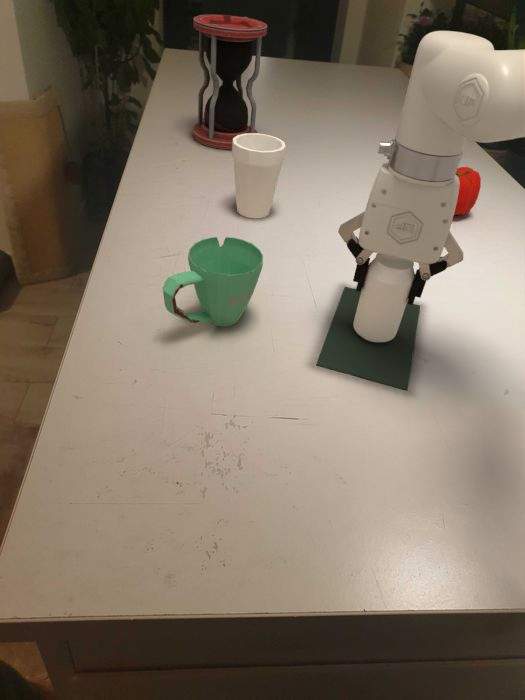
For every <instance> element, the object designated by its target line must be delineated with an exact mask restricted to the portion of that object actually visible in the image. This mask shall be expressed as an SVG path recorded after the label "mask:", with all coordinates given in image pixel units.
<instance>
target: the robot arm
mask: <svg viewBox="0 0 525 700" xmlns="http://www.w3.org/2000/svg"><path fill="white" fill-rule="evenodd" d="M521 138H525V48H524V49H522V48H521V49H505V50H504V49H502V50H500V49H499V50H496V49H495V47H494V45H493V43H492V42H491V41H490V40H488V39H486V38H484V37H482V36H480V35H479V36H478V35H476V34H472V33H467V32H462V31H455V30H453V31H452V30H434V31H431V32H429V33H427V34H425V35H424V36H423V37H422V38H421V40H420V42H419V44H418V46H417V49H416V53H415V56H414V61H413V65H412V67H411V73H410V77H409V81H408V84H407V89H406V91H405V96H404V101H403V104H402V108H401V112H400V115H399V121H398V124H397V128H396V132H395V137H394V139H393V138H392V139H391V141H390V140H388V141H383V140H380V143H379V147H378V151H377V153H378V154H380V155H383V156H384V157H386V160H387V161H385V162H383V163H382V164H381V166H380V168H379V170H378V172H377V173H376V177H375V179H374V181H373V184H372V187H371V190H370V193H369V196H368V200H367V202H366V206H365V209H364V211H363V212H361V213H359V214H357V215H356V216H353V217H352V218H350V219H348V220H347V221H345V222H343V223H342V224H340V226H339V227H338V229H337V230H338V231H337V233H338V234H339V236H340V237H341V239H342V241H343V242H344V243H345V244H346V247H347V249H348V250H349V252H350V253H351V254H352V256H353V258H354V259H355V263H356V267H355V271H354V274H353V279H352V282H354V283H357V284H356V288H355V289H356V291H357V292H360V291H362V287H363V283H364V279H365V275H366V272H367V268H368V265H369V264H370V262H371V258H370V257H371V256H372V255H373V254H374V253H376V254H377V253H378V254H383V255H387V256H391V257H395V258H399V259H404V260H408V261H412V262H414V263H417V264H418V269H416V271H415V280H414V283H413V286H412V289H411V292H410V295H409V298H408V301H407V303H409V305H413V304H415V303H414V302H415V300H416V298H418V299H421V297H422V294H423V291H424V289H425V286H426V284H427V281H429V280H431V277H433V276H435V275H438V274H440V273H442V272H444V271H446V270H447V268H451V267H453V266H455V265H457V264H459V263H461V262H463V261H464V251H463V250H462V248H461V246H460V245H459V243H458V241H457V240H456V239H455V237H454V235H453V234H452V232H451V226H452V222H453V219H454V216H455V215H454V212H455V208H456V204H457V199H458V194H459V186H460V182H459V178H458V177H457V176H456V175H455V174H456V171H457V169H458V168H459V166H460V163H461V160H462V157H463V153H464V150H465V148H466V144H467V141H472V142H475V143H482V144H483V143H485V144H487V143H495V142H496V143H497V142H504V141H511V140H515V139H521ZM358 229H359V233H358V237H357V236H356V235H355V233H354V232H355V231H356V230H358ZM444 249H445V250H446V252H447V253H446V254H445V255H444V256H442V254H443V251H444Z"/></svg>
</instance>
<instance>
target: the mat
mask: <svg viewBox="0 0 525 700" xmlns="http://www.w3.org/2000/svg"><path fill="white" fill-rule="evenodd" d="M361 291H362V290H361ZM361 291H360V292H357V291H356V288H352V287H348V286H344V289H343V290H342V293H341V296H340V299H339V300H338V301H339V302H338V304H337V307H336V310H335V312H334V314H333V318H332V320H331V323H330V326H329V328H328V331H327V334H326V337H325V340H324V342H323V345H322V348H321V351H320V353H319V356H318V358H317V361H316V366H318V367H322V368H323V369H327V370H331V371H336V372H339V373H343V374H346V375H350V376H353V377H357V378H361V379H364V380H367V381H370V382H374V383H379V384H381V385H386V386H389V387H393V388H396V389H399V390H402V391H403V390H404V391H408V390H409V384H410V376H411V370H412V369H411V368H412V365H413V357H414V350H415V342H416V337H417V329H418V325H419V324H418V323H419V317H420V312H421V305H419V304H416V303H413V305H409V303H407V304H406V307H405V310H404V313H403V316H402V319H401V322H400V325H399V328H398V331H397V333H396V336H395V337H394V338H393V339H392V340H390V341H387V342H371V341H368V340H366V339H364V338H363V337H361V336H360V335H359V334H358V333H357V332H356V331H355V329H354V326H353V324H354V319H355V315H356V311H357V307H358V303H359V299H360V295H361Z"/></svg>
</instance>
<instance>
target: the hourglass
mask: <svg viewBox="0 0 525 700" xmlns="http://www.w3.org/2000/svg"><path fill="white" fill-rule="evenodd" d="M192 20H193V22H192V23H193V24H192V26H193V27H192V28H194V29H195V30H196V31H198V33H199V34H198V35H199V36H198V61H199V66H200V67H201V70H202V71H203V78H204V79H203V83H202V86H201V87H200V88H199V91H198V97H197V100H198V101H197V103H198V105H197V107H198V108H197V124H195V125H193V127H192V138H193V139H194V140H195V141H196V142H197V143H199V144H201V145H204V146H207V147H209V148H215V149H221V150H232V143H233V138H234V137H236V136H237V135H241V134H246V133H258V134H259V131H257V130H256V117H257V103H256V100H255V98H254V96H253V89H252V88H253V85H254V82H255V80H257V78H258V76H259V74H260V67H261V55H262V43H263V42H262V41H263V40H262V39H263V37H265V36H266V35H267V34H268V25H267V23H265V22H263V21H261V20H258V19H255V18H251V17H248V16H238V15H231V14H214V13H213V14H212V13H211V14H199V15H196V16H194V17H193V19H192ZM205 36H206V39H205ZM255 40H256V46H255V58H254V59H255V60H254V70H253V73H252V75H251V76H250V78H249V79H248V80H247V82H246V86H245V91H246V92H245V93H246V98H247V99H248V101H249V103H250V107H251V112H250V124H249V108H248V105H247V102H246V101H245V99H244V90H243V87H242V78H243V77H242V76H243V74H244V73H245V72H246V70H247V69H248V68H249V66H250V65H251V62H252V60H253V55H254V41H255ZM205 56H206V59H207V61H208V64H209V66H210V70H209V69H208V67H207V65H206V62H205ZM218 77H219V78H218ZM219 79H220V80H221V85H220V80H219ZM211 80H212V94H211V95H210V97H208V99H207V101H206V103H205V106H204V94H205V91H206V90H207V88H208V87H209V85H210V81H211ZM234 82H235V85H236V87H235V86H234ZM248 124H249V125H248Z"/></svg>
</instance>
